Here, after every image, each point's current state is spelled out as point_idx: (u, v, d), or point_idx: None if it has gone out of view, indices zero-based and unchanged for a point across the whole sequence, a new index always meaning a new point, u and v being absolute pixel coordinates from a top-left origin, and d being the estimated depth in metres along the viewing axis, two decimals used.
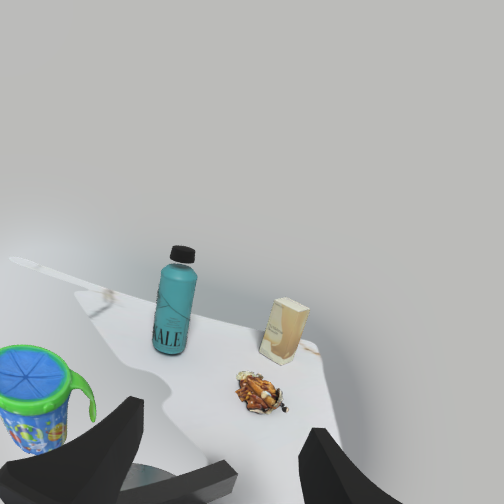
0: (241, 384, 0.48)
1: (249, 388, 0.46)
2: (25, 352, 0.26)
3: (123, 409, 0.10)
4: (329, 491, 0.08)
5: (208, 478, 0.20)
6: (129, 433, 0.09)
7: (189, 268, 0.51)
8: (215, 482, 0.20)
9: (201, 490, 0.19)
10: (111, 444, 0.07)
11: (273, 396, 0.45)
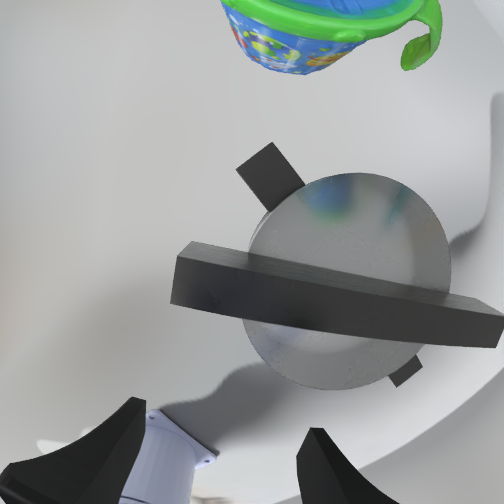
0: None
1: None
2: None
3: (125, 410, 0.10)
4: (327, 491, 0.08)
5: (475, 334, 0.13)
6: (131, 434, 0.09)
7: None
8: (473, 346, 0.13)
9: (453, 343, 0.13)
10: (114, 445, 0.07)
11: None
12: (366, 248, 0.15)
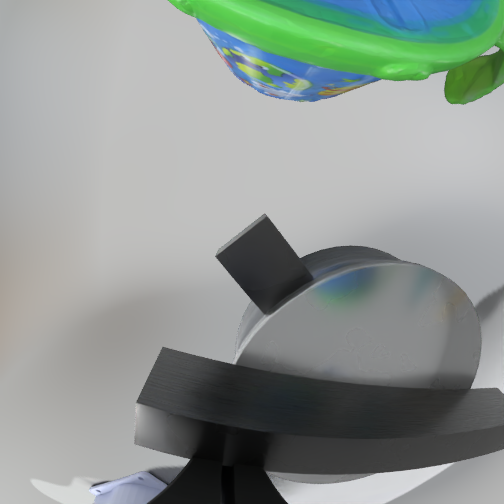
0: None
1: None
2: None
3: None
4: (229, 487, 0.08)
5: (491, 444, 0.09)
6: None
7: None
8: (486, 453, 0.09)
9: (466, 454, 0.09)
10: (221, 470, 0.08)
11: None
12: (387, 357, 0.11)
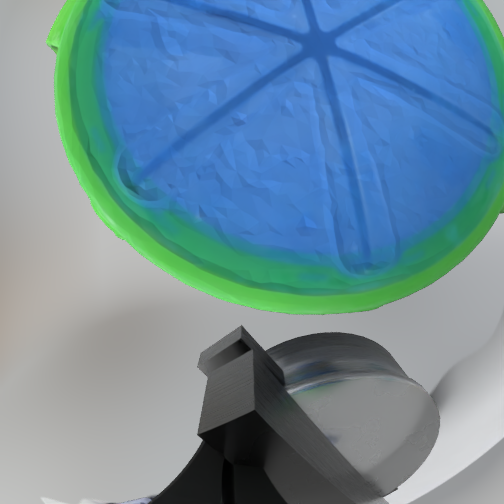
0: None
1: None
2: None
3: None
4: (229, 487, 0.08)
5: None
6: None
7: None
8: None
9: None
10: (221, 470, 0.08)
11: None
12: (372, 447, 0.12)
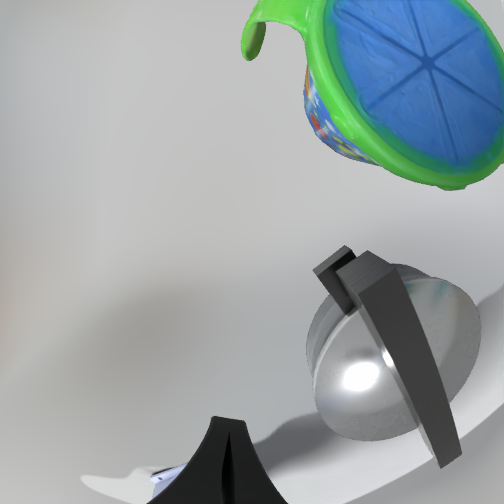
0: None
1: None
2: None
3: (216, 431, 0.10)
4: (229, 487, 0.08)
5: (444, 451, 0.15)
6: None
7: None
8: (437, 457, 0.15)
9: (431, 447, 0.15)
10: (221, 470, 0.08)
11: None
12: (437, 348, 0.17)
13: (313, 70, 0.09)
